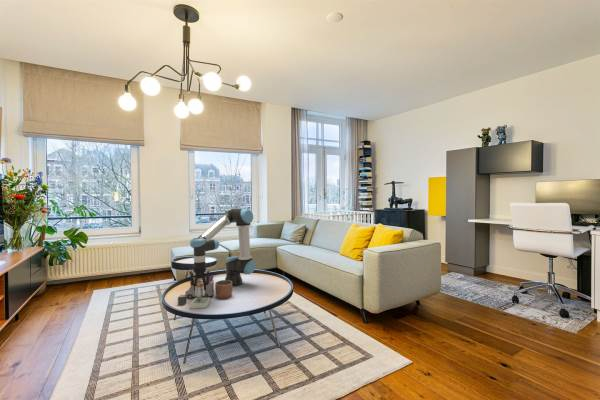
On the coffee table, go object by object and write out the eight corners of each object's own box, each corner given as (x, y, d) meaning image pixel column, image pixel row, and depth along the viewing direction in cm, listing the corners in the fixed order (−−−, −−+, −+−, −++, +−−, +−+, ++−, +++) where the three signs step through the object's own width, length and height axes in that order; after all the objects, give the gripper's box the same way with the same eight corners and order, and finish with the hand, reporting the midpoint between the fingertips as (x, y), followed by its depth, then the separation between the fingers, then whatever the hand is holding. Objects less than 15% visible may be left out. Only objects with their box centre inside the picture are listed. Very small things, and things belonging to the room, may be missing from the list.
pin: (202, 300, 200) (202, 283, 200) (201, 302, 196) (201, 285, 196) (197, 300, 200) (197, 283, 199) (195, 302, 196) (195, 285, 196)
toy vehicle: (188, 295, 219) (188, 275, 219) (214, 294, 221) (214, 275, 220) (184, 299, 210) (184, 279, 209) (212, 298, 211) (211, 278, 211)
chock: (186, 303, 204) (186, 294, 204) (184, 305, 199) (183, 297, 199) (180, 303, 203) (180, 294, 203) (178, 306, 198) (177, 297, 198)
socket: (208, 299, 209) (208, 296, 209) (207, 302, 204) (206, 299, 204) (200, 300, 209) (200, 296, 209) (198, 302, 204) (198, 299, 204)
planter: (223, 301, 206) (223, 286, 206) (211, 298, 213) (211, 283, 213) (236, 295, 217) (235, 281, 217) (224, 292, 223) (224, 279, 223)
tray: (210, 302, 204) (210, 297, 204) (206, 308, 194) (206, 303, 194) (195, 303, 203) (194, 297, 203) (190, 309, 193) (190, 303, 193)
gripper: (213, 259, 202) (214, 292, 203) (188, 260, 201) (189, 293, 201) (211, 262, 195) (211, 296, 195) (185, 263, 193) (185, 297, 194)
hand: (200, 295), depth 198 cm, fingers open, 4 cm apart
